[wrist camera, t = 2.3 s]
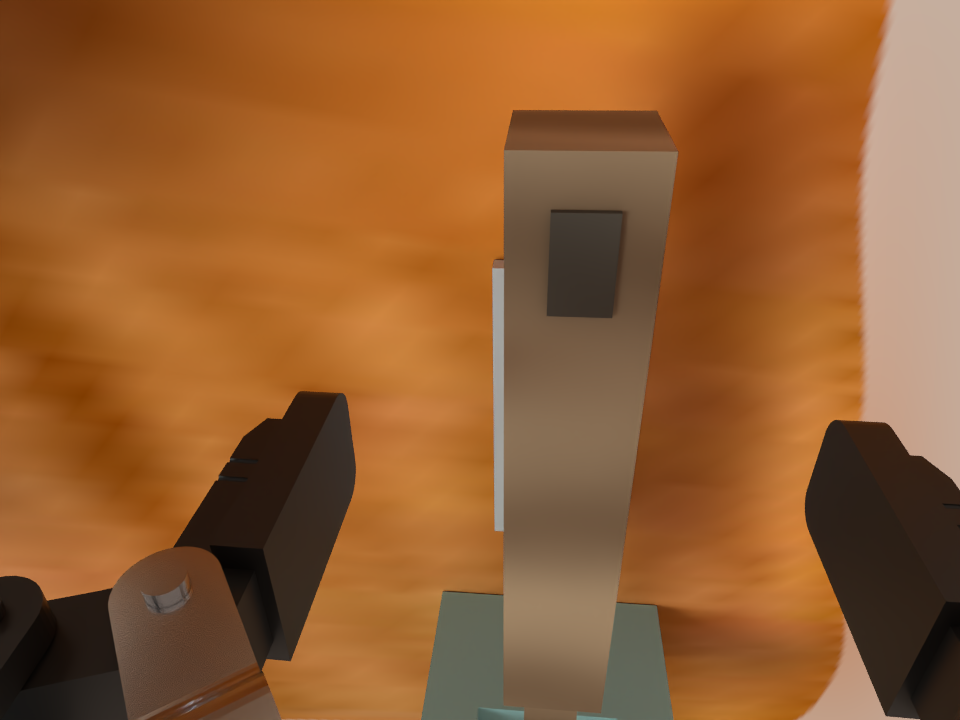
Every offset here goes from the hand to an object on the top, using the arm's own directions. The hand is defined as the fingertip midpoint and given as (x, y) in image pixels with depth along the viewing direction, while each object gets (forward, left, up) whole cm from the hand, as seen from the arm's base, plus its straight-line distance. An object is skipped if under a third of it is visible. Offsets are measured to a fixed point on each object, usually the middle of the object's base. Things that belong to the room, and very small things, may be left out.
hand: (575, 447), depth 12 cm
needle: (+5, 0, -5) cm, 7 cm away
